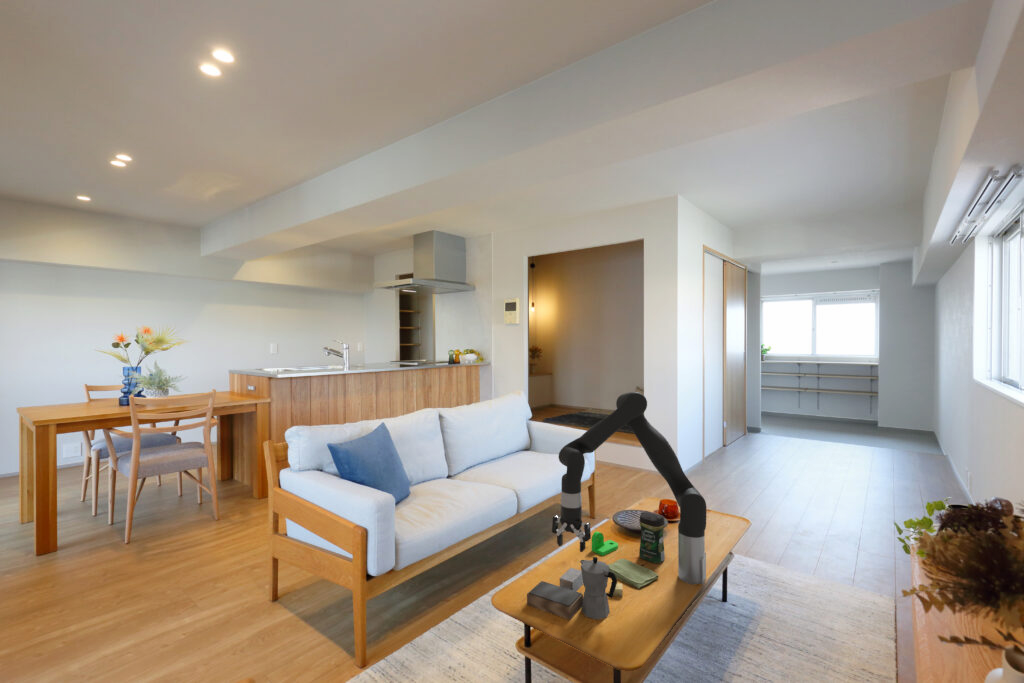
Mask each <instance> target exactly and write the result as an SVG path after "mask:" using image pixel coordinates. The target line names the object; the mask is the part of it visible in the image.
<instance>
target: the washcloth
mask: <svg viewBox="0 0 1024 683" xmlns="http://www.w3.org/2000/svg"><path fill="white" fill-rule="evenodd" d="M607 565H608V566H609V567H610V569H609V571H610V572H613V573H614V574H615V576H616V578H617V580H619V581H622V582H623V583H626V584H628V585H629V586H632V587H635V588H637V589H638V590H639V589H641V588H643V587H644V586H646V585H649V584H650V583H652V582H653V581H655V580H657V579H658V578H659V576H660V575H659V574H658V573H656V572H655V571H653V570H651V568H648V567H645V566H642V565H640V564H637V563H636V562H635V563H634V562H633V561H631V560H628V559H627V558H620V559H617V560H616V561H614V562H613V563H608V564H607Z"/></svg>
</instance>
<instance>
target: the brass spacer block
mask: <svg viewBox="0 0 1024 683" xmlns="http://www.w3.org/2000/svg"><path fill="white" fill-rule="evenodd" d="M623 591H624V590H623V583H619V582H617V585H616V587H615V591H614V594H613V597H619V598H623V595H624V593H623Z"/></svg>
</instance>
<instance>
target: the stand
mask: <svg viewBox="0 0 1024 683" xmlns="http://www.w3.org/2000/svg"><path fill="white" fill-rule="evenodd" d="M583 596H584V593H582V592H579V591H573V590H570V589H566V588H563V587H560V585H555V584H553V583H550V582H546V581H543V580H541V581H540V582H538V583H537V584H536V585H535V586H534V587H533V588H531V589H530V591H529V592H527V594H526V605H527V606H529V607H531V608H534V609H537V610H540V611H543V612H545V613H549V614H551V613H552V614H551V615H554V616H557V617H559V616H560V618H562V617H563V618H562V619H566V620H569V621H571V620H572V619H573V618H574V617H575V615H576V614H577V613H578V611H580V610H581V608H582V602H583Z"/></svg>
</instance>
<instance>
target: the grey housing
mask: <svg viewBox="0 0 1024 683" xmlns="http://www.w3.org/2000/svg"><path fill="white" fill-rule="evenodd" d="M559 586H560V587H563V588H566V589H570V590H573V591H576V592H578V590H579V589H580V588H581V587H582V586H584V585H583V578H582V571H581V569H577V568H573V567H570V568H568V569H567V570H566V571H565V572H564V574H562V575H561V576H560V577H559Z"/></svg>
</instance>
